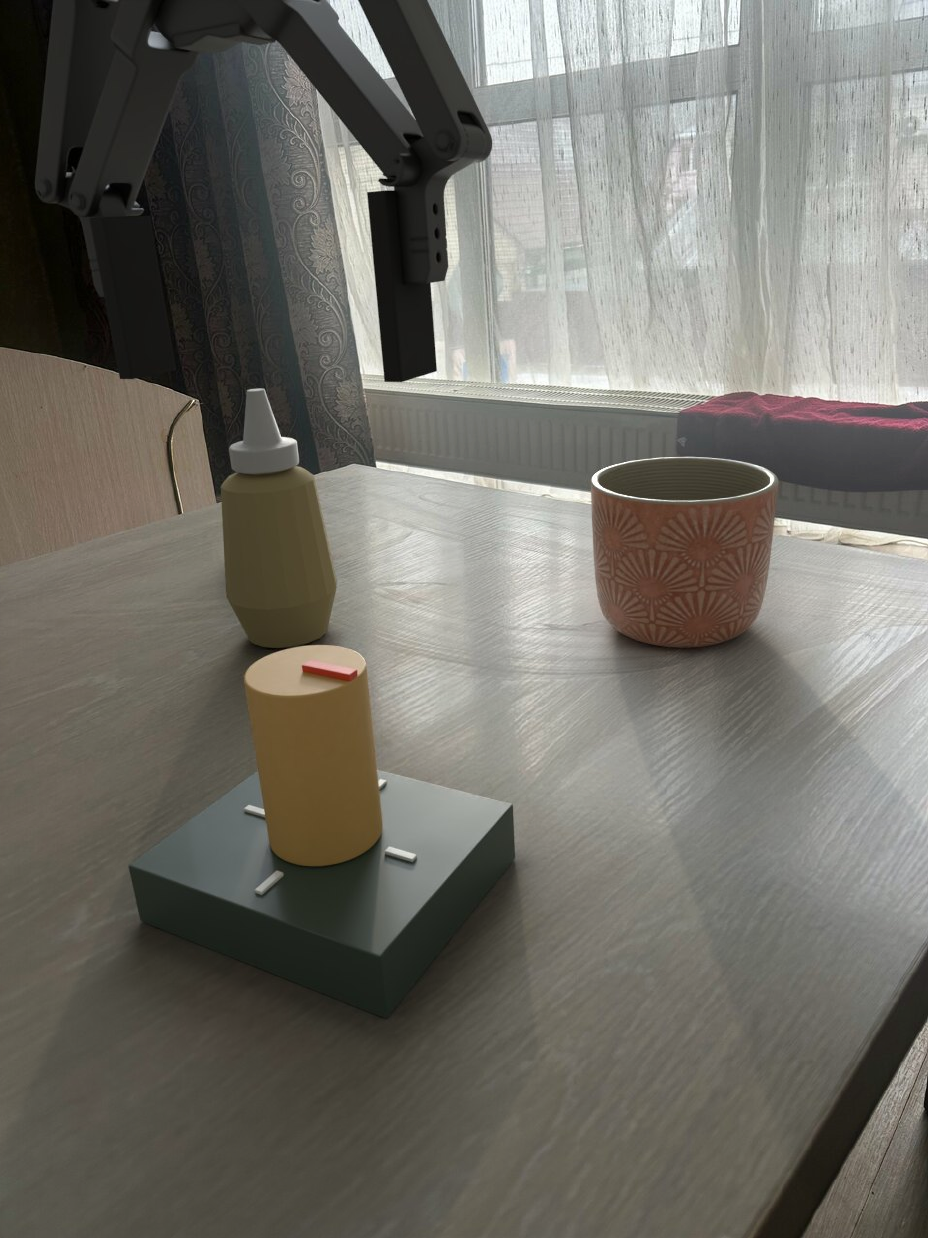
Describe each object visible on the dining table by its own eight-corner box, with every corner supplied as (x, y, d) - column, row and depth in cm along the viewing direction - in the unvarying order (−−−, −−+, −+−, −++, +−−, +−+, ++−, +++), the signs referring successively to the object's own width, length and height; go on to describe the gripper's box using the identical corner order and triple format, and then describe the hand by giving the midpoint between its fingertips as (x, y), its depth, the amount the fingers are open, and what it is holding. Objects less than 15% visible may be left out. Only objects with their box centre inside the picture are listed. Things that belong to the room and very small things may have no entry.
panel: (140, 921, 43) (126, 862, 41) (295, 796, 51) (288, 744, 50) (387, 1020, 36) (379, 953, 35) (515, 858, 45) (513, 801, 44)
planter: (558, 618, 72) (555, 474, 68) (689, 584, 77) (694, 448, 73) (663, 678, 62) (667, 513, 58) (806, 634, 67) (820, 480, 63)
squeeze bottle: (351, 646, 69) (324, 392, 63) (237, 665, 67) (196, 405, 61) (333, 608, 77) (307, 376, 70) (230, 624, 75) (192, 387, 68)
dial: (245, 849, 42) (216, 676, 39) (315, 791, 46) (294, 630, 43) (339, 880, 40) (316, 698, 36) (404, 816, 44) (388, 648, 40)
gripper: (574, -347, 30) (585, 362, 38) (21, -153, 41) (119, 362, 49) (461, -487, 24) (503, 395, 31) (-153, -214, 35) (-9, 386, 43)
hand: (270, 376), depth 40 cm, fingers open, 13 cm apart
